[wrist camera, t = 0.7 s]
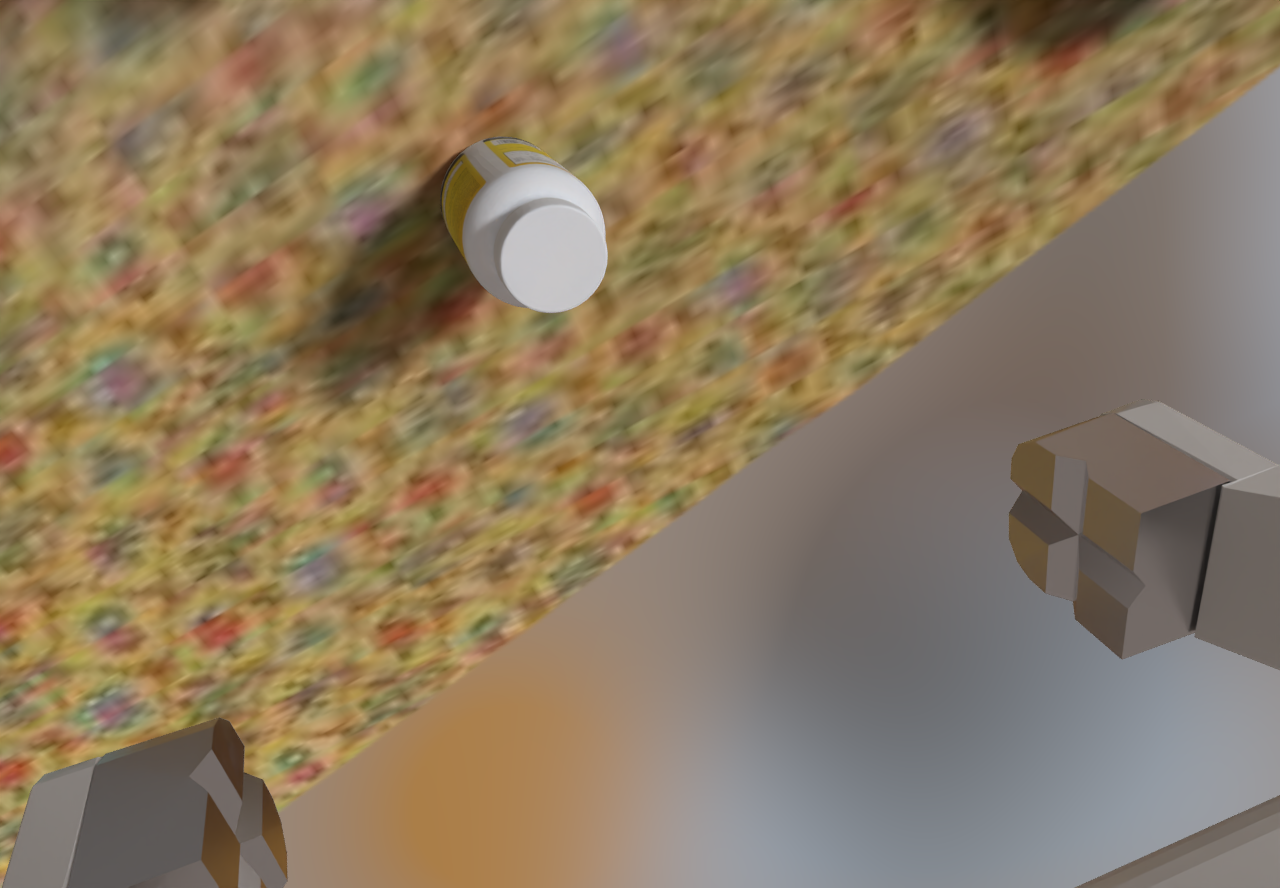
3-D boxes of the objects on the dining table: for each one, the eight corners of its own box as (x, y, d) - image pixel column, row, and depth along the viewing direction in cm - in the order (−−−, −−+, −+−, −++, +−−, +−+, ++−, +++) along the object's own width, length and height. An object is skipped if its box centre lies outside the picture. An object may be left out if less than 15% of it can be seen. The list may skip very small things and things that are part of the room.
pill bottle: (451, 269, 51) (491, 349, 41) (426, 144, 47) (461, 198, 38) (570, 245, 52) (635, 317, 42) (552, 123, 49) (619, 170, 39)
